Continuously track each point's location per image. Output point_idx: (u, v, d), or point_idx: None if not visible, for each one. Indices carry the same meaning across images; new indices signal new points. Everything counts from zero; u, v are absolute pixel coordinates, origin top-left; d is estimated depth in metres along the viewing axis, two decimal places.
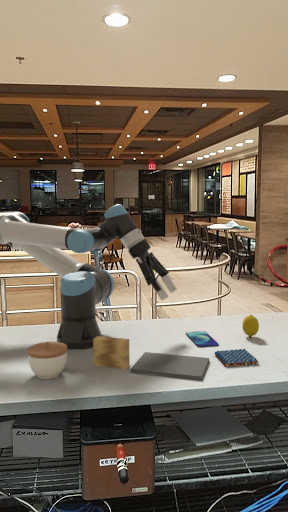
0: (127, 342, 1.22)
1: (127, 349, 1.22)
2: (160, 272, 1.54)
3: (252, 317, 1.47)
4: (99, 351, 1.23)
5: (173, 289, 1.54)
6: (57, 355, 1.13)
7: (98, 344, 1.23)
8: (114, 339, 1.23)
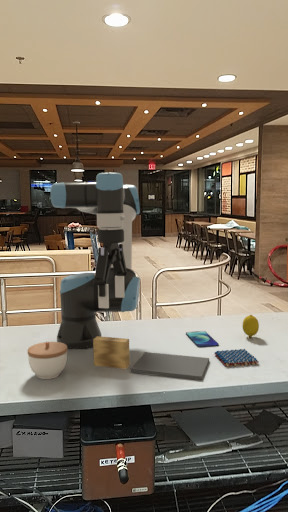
0: (127, 342, 1.22)
1: (127, 349, 1.22)
2: (118, 270, 1.27)
3: (252, 317, 1.47)
4: (99, 351, 1.23)
5: (120, 295, 1.28)
6: (57, 355, 1.13)
7: (98, 344, 1.23)
8: (114, 339, 1.23)
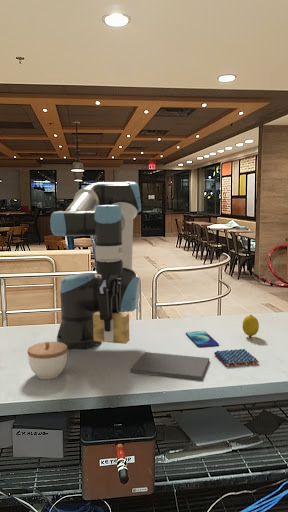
0: (127, 317, 1.21)
1: (127, 324, 1.22)
2: (112, 307, 1.24)
3: (252, 317, 1.47)
4: (99, 326, 1.23)
5: None
6: (57, 355, 1.13)
7: (98, 319, 1.23)
8: (114, 314, 1.23)
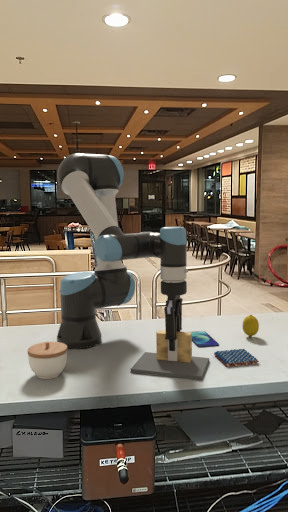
0: (190, 336, 1.24)
1: (190, 343, 1.24)
2: None
3: (252, 317, 1.47)
4: (162, 345, 1.25)
5: None
6: (57, 355, 1.13)
7: (161, 338, 1.25)
8: (177, 333, 1.25)
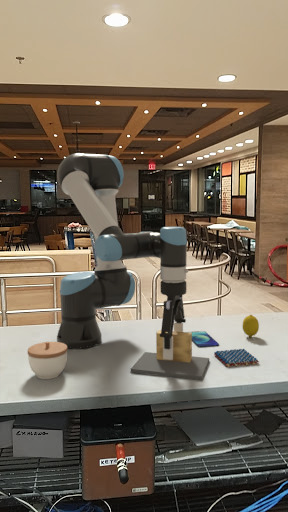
0: (190, 336, 1.24)
1: (190, 343, 1.24)
2: (177, 318, 1.30)
3: (252, 317, 1.47)
4: (162, 345, 1.25)
5: None
6: (57, 355, 1.13)
7: (161, 338, 1.25)
8: (177, 333, 1.25)
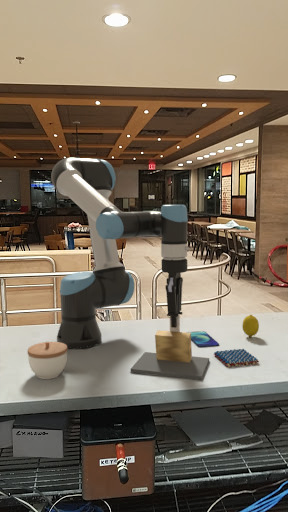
0: (189, 337, 1.22)
1: (190, 343, 1.23)
2: None
3: (252, 317, 1.47)
4: (161, 346, 1.24)
5: None
6: (57, 355, 1.13)
7: (160, 339, 1.24)
8: (176, 334, 1.23)
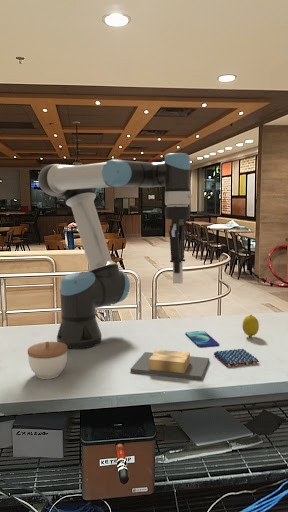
0: (184, 367, 1.16)
1: (186, 364, 1.18)
2: None
3: (252, 317, 1.47)
4: None
5: None
6: (57, 355, 1.13)
7: None
8: (170, 366, 1.16)
